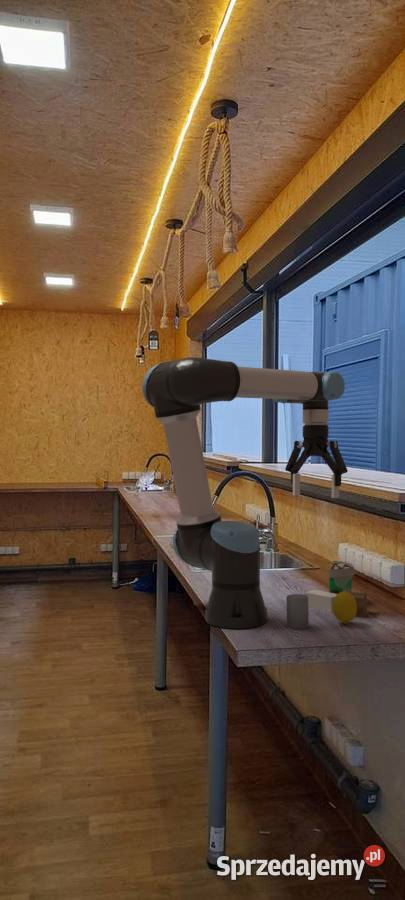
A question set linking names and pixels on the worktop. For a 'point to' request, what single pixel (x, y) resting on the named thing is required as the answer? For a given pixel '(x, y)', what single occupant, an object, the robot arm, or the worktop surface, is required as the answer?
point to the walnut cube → (360, 603)
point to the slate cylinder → (297, 612)
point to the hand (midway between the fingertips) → (315, 496)
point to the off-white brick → (320, 600)
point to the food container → (340, 577)
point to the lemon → (344, 607)
